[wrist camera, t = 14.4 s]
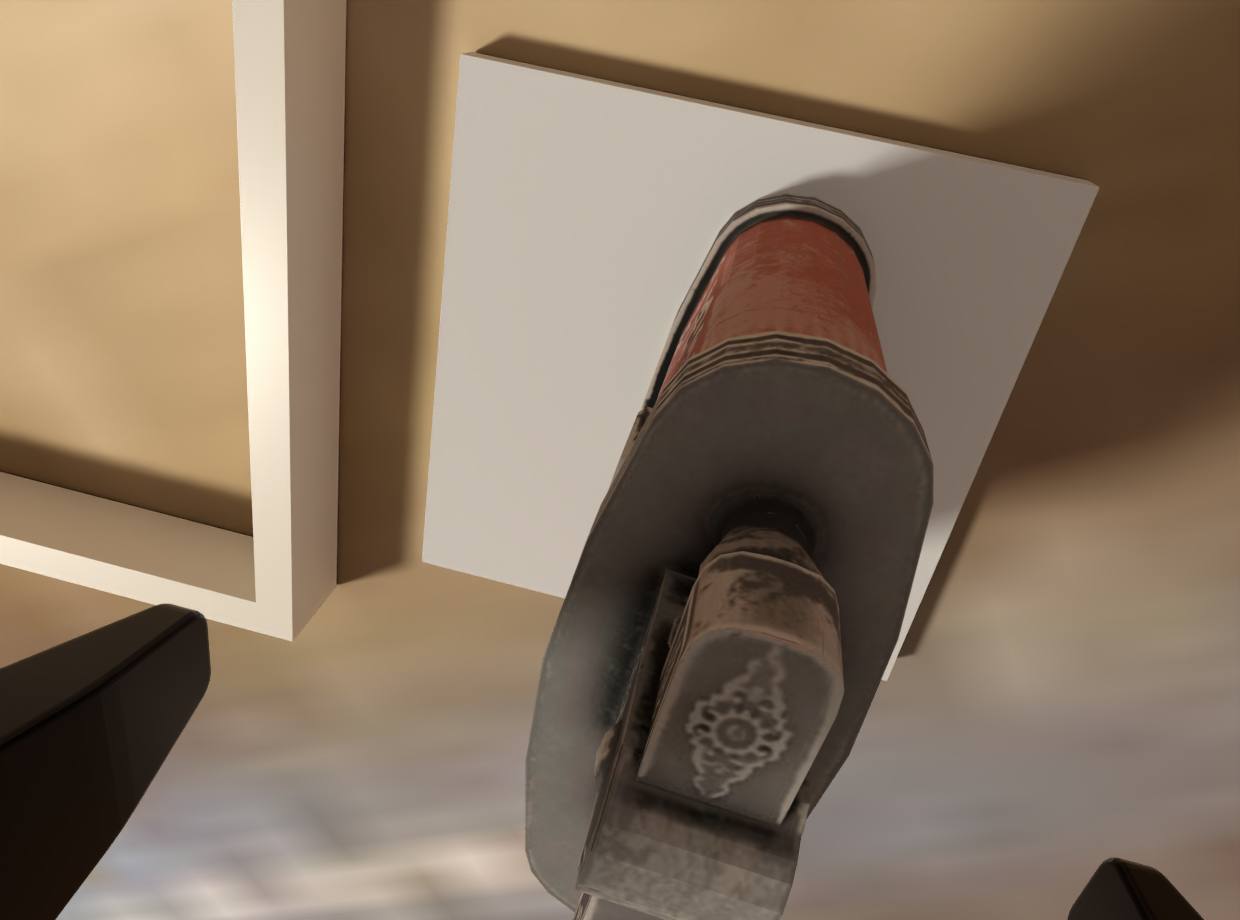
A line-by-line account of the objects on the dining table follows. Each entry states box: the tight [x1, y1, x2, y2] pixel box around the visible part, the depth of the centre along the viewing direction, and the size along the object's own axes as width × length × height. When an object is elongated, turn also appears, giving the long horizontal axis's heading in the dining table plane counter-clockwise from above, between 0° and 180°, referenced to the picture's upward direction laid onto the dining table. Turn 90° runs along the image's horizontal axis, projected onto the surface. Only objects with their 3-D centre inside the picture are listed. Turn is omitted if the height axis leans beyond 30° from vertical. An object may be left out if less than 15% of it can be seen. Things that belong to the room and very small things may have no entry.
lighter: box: [525, 193, 934, 920], centre depth 11 cm, size 8×3×10 cm, turn 166°
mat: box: [422, 52, 1100, 681], centre depth 16 cm, size 10×10×1 cm
